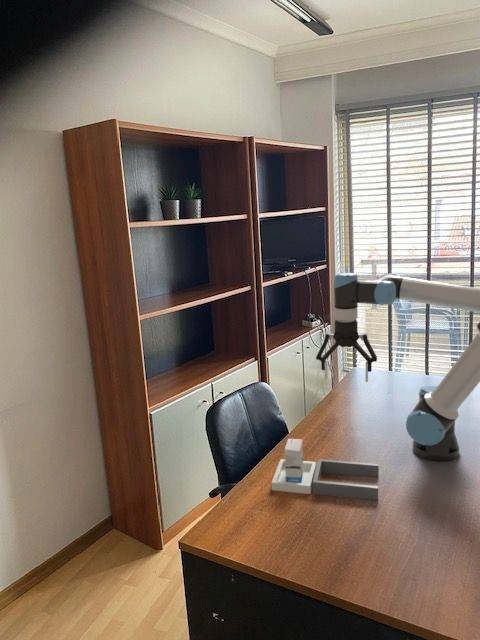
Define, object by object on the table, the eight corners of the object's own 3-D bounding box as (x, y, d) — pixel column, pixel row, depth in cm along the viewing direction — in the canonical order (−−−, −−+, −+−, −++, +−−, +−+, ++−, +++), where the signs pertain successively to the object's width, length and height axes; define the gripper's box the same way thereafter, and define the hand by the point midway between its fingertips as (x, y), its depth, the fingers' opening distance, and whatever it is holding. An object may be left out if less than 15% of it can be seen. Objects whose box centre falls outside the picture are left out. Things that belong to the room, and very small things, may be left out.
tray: (316, 469, 170) (316, 461, 169) (310, 494, 156) (310, 486, 155) (280, 466, 173) (280, 458, 173) (271, 490, 159) (271, 482, 159)
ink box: (300, 485, 160) (300, 451, 157) (285, 484, 161) (284, 450, 158) (304, 471, 168) (303, 438, 165) (289, 470, 169) (287, 437, 166)
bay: (378, 475, 164) (378, 464, 164) (378, 500, 151) (378, 488, 150) (318, 470, 170) (318, 459, 169) (313, 493, 156) (312, 482, 155)
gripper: (384, 317, 171) (384, 377, 175) (310, 316, 177) (311, 374, 182) (384, 322, 164) (384, 385, 168) (307, 321, 170) (308, 381, 175)
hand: (346, 379), depth 175 cm, fingers open, 13 cm apart
